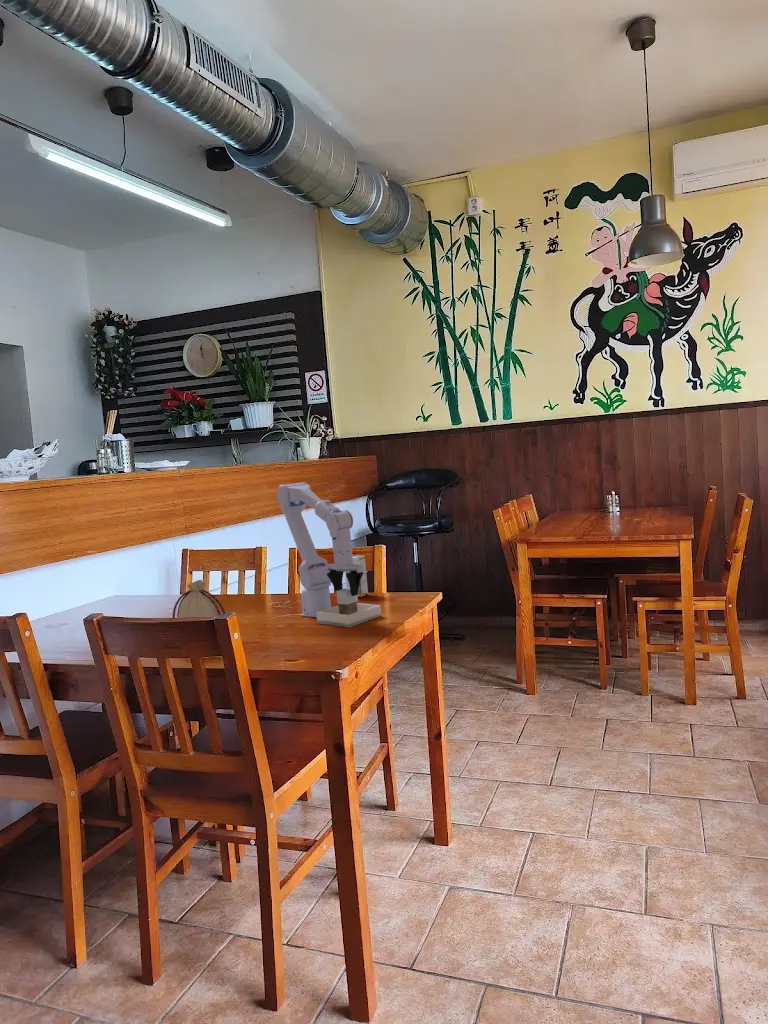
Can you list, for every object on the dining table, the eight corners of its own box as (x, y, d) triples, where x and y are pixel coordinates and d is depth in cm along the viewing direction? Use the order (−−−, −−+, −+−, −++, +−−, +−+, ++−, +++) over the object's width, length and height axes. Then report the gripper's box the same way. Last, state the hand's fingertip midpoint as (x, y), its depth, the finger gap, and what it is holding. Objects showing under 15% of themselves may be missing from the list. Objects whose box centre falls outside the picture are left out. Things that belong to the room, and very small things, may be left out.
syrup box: (346, 598, 260) (342, 557, 259) (355, 594, 265) (351, 554, 264) (360, 598, 257) (356, 557, 256) (368, 594, 263) (365, 554, 261)
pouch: (248, 642, 209) (240, 576, 207) (234, 650, 201) (226, 582, 200) (172, 643, 217) (165, 579, 215) (156, 651, 209) (148, 585, 207)
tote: (317, 623, 225) (316, 612, 224) (349, 613, 235) (348, 602, 235) (349, 627, 215) (348, 615, 215) (381, 616, 226) (380, 605, 225)
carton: (337, 603, 224) (336, 590, 224) (348, 600, 228) (347, 587, 228) (346, 604, 222) (345, 591, 221) (358, 601, 225) (356, 588, 225)
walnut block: (339, 617, 225) (338, 603, 225) (348, 614, 228) (347, 600, 228) (348, 618, 222) (347, 604, 222) (358, 615, 225) (356, 601, 225)
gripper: (316, 552, 225) (321, 595, 226) (350, 553, 216) (354, 598, 217) (333, 548, 231) (337, 591, 232) (366, 549, 221) (371, 594, 222)
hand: (346, 594), depth 225 cm, fingers open, 6 cm apart
